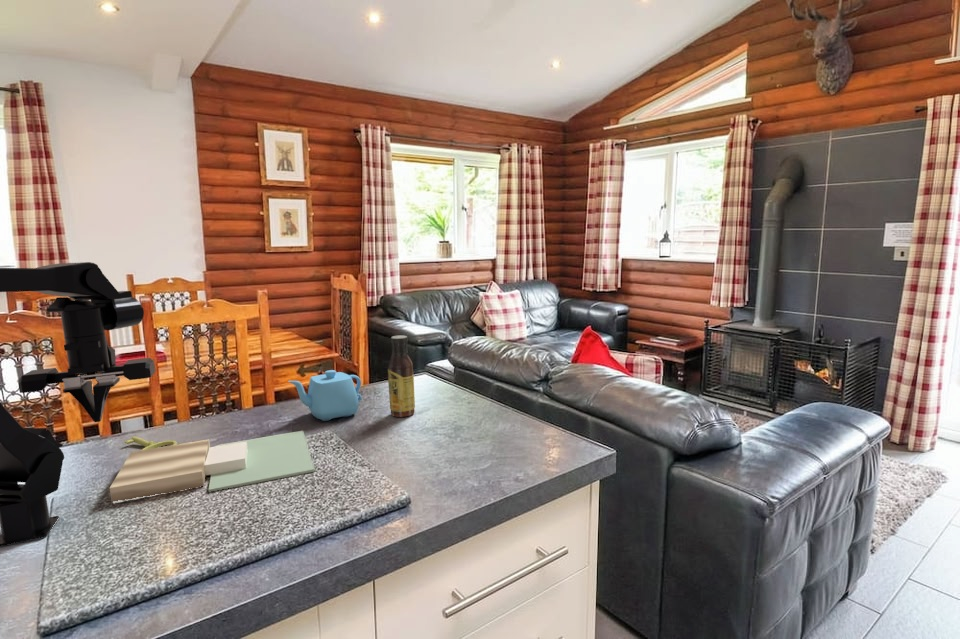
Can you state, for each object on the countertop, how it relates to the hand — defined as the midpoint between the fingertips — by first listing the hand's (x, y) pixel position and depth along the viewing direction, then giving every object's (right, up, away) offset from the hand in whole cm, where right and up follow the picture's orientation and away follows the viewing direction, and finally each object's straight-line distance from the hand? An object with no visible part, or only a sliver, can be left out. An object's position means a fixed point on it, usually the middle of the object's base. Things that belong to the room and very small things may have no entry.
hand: (98, 421), depth 94 cm
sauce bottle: (+49, -6, +38) cm, 62 cm away
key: (-5, -11, +23) cm, 25 cm away
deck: (+8, -12, +7) cm, 16 cm away
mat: (+24, -10, +14) cm, 29 cm away
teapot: (+30, -7, +40) cm, 50 cm away
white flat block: (+18, -10, +11) cm, 23 cm away
